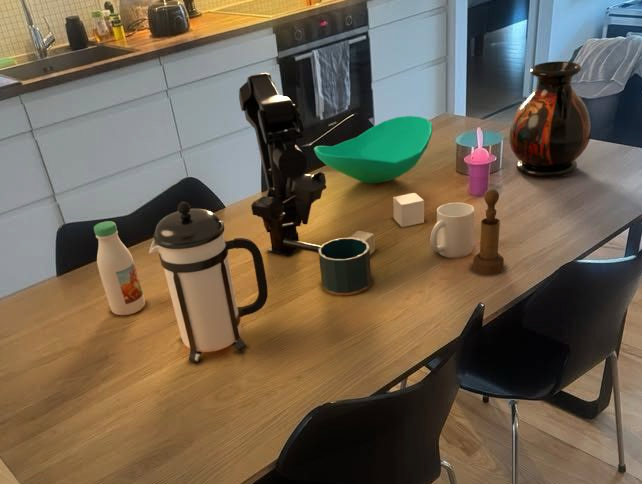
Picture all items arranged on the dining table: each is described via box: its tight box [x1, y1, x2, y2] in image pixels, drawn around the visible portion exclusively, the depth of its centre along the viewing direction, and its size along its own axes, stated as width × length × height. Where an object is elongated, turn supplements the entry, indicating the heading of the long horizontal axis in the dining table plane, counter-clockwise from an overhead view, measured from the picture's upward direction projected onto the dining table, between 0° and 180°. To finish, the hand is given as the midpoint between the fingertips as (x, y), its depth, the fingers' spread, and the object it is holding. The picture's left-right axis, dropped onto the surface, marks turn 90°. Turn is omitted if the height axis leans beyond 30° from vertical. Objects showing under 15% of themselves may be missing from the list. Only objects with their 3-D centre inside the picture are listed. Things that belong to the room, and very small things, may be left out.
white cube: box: [392, 192, 425, 228], centre depth 175 cm, size 6×6×6 cm
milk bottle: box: [93, 220, 146, 316], centre depth 148 cm, size 8×8×20 cm
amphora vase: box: [508, 61, 592, 180], centre depth 187 cm, size 22×22×28 cm
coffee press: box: [148, 201, 269, 364], centre depth 129 cm, size 17×16×30 cm
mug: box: [429, 202, 475, 259], centre depth 156 cm, size 12×8×10 cm
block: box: [348, 230, 376, 255], centre depth 163 cm, size 4×4×4 cm
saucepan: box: [283, 237, 372, 296], centre depth 153 cm, size 11×22×8 cm, turn 54°
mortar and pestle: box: [472, 188, 505, 275], centre depth 146 cm, size 7×6×18 cm
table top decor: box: [313, 115, 433, 185], centre depth 200 cm, size 40×28×13 cm
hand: (293, 231), depth 152 cm, fingers open, 9 cm apart
